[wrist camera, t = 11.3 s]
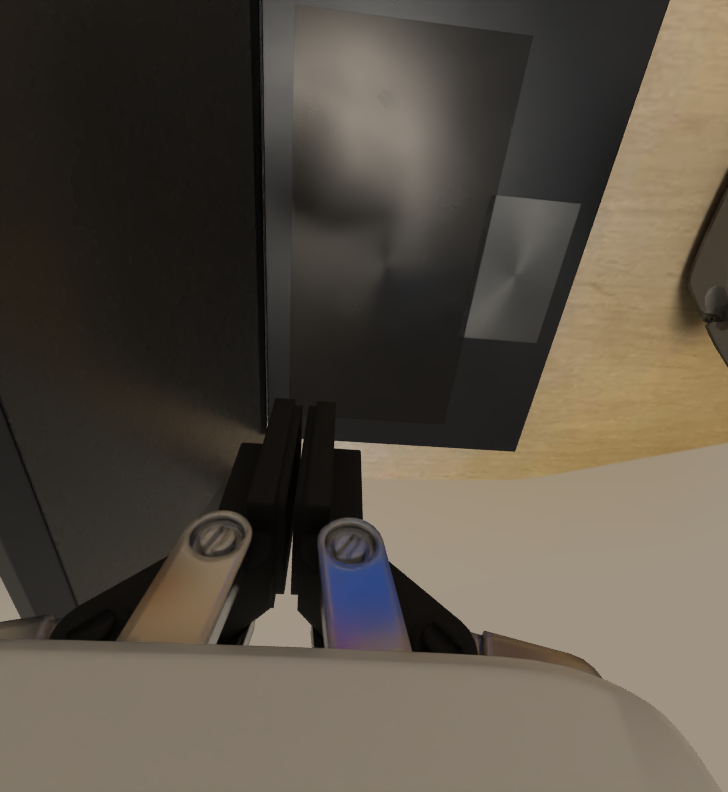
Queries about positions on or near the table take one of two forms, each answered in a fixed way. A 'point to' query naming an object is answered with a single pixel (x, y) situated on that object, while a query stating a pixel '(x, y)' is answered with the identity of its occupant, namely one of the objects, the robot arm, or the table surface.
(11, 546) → the laptop screen
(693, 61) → the table surface
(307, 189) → the laptop
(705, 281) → the handheld device
